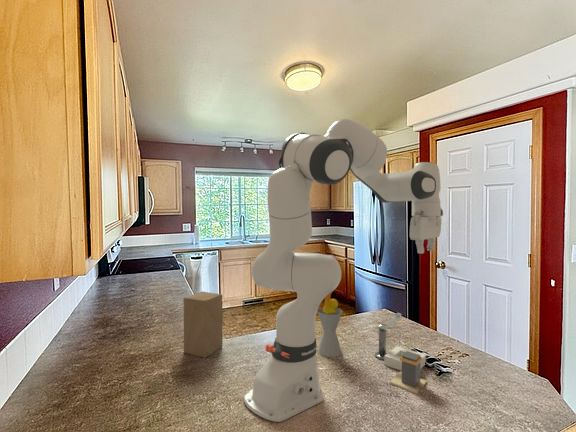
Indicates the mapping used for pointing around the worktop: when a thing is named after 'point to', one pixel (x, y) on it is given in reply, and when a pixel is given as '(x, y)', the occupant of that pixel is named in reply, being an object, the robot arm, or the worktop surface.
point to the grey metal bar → (390, 322)
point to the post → (381, 345)
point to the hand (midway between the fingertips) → (425, 251)
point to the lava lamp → (329, 327)
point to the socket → (394, 358)
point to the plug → (411, 368)
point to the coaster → (398, 382)
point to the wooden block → (202, 324)
